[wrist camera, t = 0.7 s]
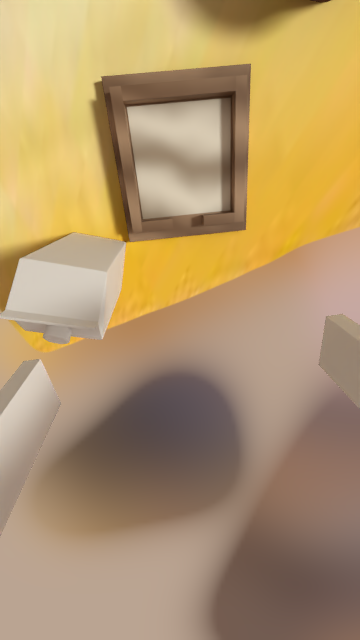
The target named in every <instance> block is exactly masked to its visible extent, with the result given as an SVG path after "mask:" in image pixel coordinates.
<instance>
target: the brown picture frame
mask: <svg viewBox="0 0 360 640" xmlns="http://www.w3.org/2000/svg"><path fill="white" fill-rule="evenodd" d="M250 73H251V64H243V65H231V66H220V67H208V68H196V69H185V70H173V71H161V72H150V73H138V74H126V75H115V76H103V77H101V78H102V83H103V89H104V95H105V101H106V107H107V112H108V118H109V124H110V130H111V135H112V141H113V147H114V153H115V159H116V164H117V170H118V176H119V182H120V187H121V193H122V199H123V205H124V211H125V216H126V222H127V228H128V234H129V239H130V242H134V241H143V240H153V239H162V238H172V237H182V236H191V235H201V234H211V233H220V232H230V231H239V230H246V206H247V172H248V139H249V106H250Z"/></svg>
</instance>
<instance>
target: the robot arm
mask: <svg viewBox="0 0 360 640" xmlns="http://www.w3.org/2000/svg"><path fill="white" fill-rule="evenodd" d="M319 366H320V367H321V368H322V369H323V370H324V371H325V372H326V373H327V374H328V375H329V376H330V378H331V379H332V380H333V381H334V382H335V383H336V384H337V385H338V386H339V387H340V388H341V389H342V390H343V392H345V394H346V395H347V396H348V397H349V398H350V399H351V400H352V401H353V402H354V403H355V404H356V406H357V407H358V408H359V409H360V325H358V324H357V323H355V322H354V321H352V320H351V319H349V318H348V317H346V316H345V315H343V314H339V315H332V316H327V317H326V320H325V327H324V333H323V340H322V346H321V353H320V359H319ZM60 405H61V402H60V400H59V398H58V396H57V394H56V391H55V389H54V387H53V385H52V383H51V381H50V378H49V376H48V374H47V372H46V370H45V368H44V365H43V363H42V361H41V359H36V360H29V361H24V362H23V363H22V364H21V365H20V366H19V368H18V369H17V370H16V372H15V373H14V374H13V375H12V377H11V378H10V379H9V380H8V382H7V383H6V384H5V385H4V387H3V388H2V389H1V391H0V536H1V533H2V531H3V529H4V527H5V525H6V523H7V520H8V518H9V516H10V514H11V511H12V509H13V507H14V505H15V503H16V501H17V499H18V496H19V494H20V492H21V490H22V488H23V485H24V483H25V481H26V479H27V477H28V474H29V472H30V470H31V468H32V466H33V464H34V461H35V459H36V457H37V455H38V453H39V451H40V448H41V446H42V444H43V442H44V440H45V438H46V435H47V433H48V431H49V429H50V426H51V424H52V422H53V420H54V418H55V416H56V414H57V411H58V409H59V407H60Z"/></svg>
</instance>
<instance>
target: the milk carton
mask: <svg viewBox="0 0 360 640" xmlns="http://www.w3.org/2000/svg"><path fill="white" fill-rule="evenodd" d="M125 248H126V242H124V241H119V240H114V239H108V238H103V237H97V236H92V235H86V234H81V233H71V234H69V235H67V236H65V237H63V238H61V239H59V240H57V241H55V242H53V243H51V244H49V245H47V246H45V247H43V248H41V249H39V250H37V251H35V252H33V253H30V254H28V255H26V256H24V257H22V258H20V259H19V263H18V266H17V270H16V273H15V277H14V280H13V284H12V287H11V291H10V295H9V298H8V302H7V305H6V309H5V310H4V311H3V312H2V313H0V318H2V319H9V320H15V321H16V322H17V323H18V324H19V325H20V326H21V327H22V328H23V329H24V330H26V331H33V332H41V333H44V334H43V338H44V339H45V340H47V341H49V342H53V343H59V344H67V343H69V341H70V336H73V337H82V338H90V339H98V340H102V339H103V336H104V334H105V331H106V329H107V326H108V323H109V321H110V318H111V315H112V313H113V310H114V307H115V305H116V302H117V300H118V297H119V294H120V292H121V288H122V278H123V268H124V258H125Z"/></svg>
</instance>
